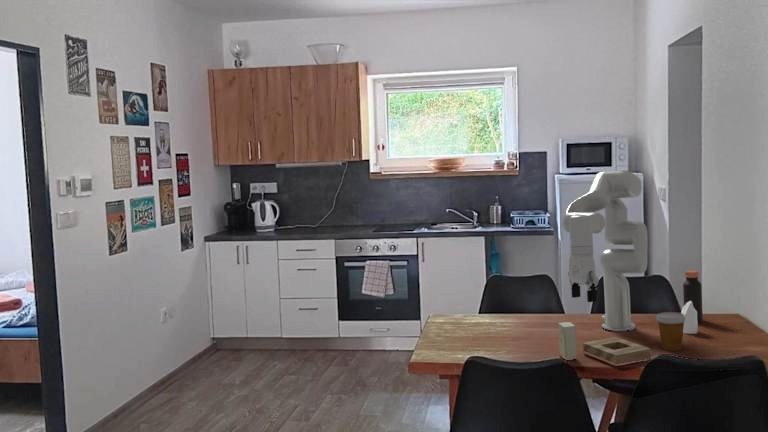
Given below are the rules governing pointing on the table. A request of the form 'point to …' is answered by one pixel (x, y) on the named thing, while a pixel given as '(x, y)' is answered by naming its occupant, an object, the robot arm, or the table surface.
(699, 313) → the bottle
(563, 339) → the skincare box
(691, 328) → the white house shaped block
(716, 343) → the table surface
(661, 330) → the disposable coffee cup
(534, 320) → the table surface
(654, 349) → the table surface
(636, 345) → the socket block
